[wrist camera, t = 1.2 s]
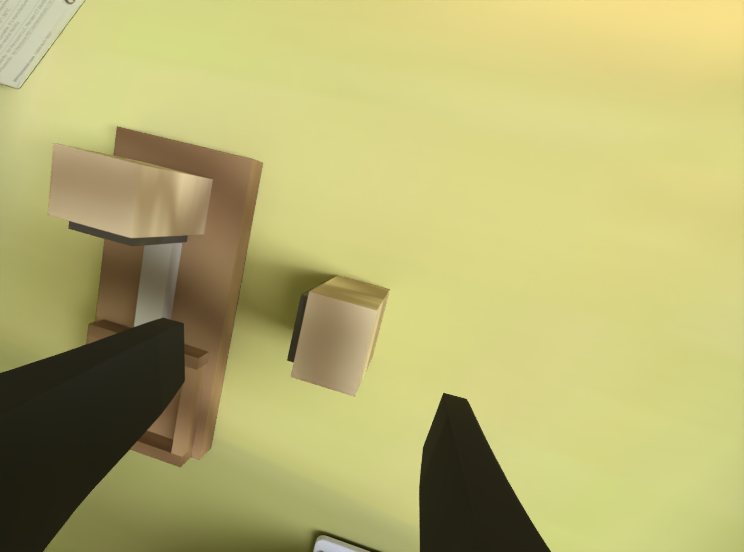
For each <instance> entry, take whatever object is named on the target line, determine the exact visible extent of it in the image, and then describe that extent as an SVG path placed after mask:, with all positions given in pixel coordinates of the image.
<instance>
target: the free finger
mask: <svg viewBox="0 0 744 552" xmlns="http://www.w3.org/2000/svg"><path fill="white" fill-rule="evenodd" d="M389 290H390V289H386V288H383V287H379V286H375V285H372V284H368V283H364V282H361V281H357V280H353V279H349V278H346V277H342V276H336V277H334V278H332V279H331V280H329V281H327V282H323V283H321V284H320V285H318V286H316V287H314V288H312V289H311V290H309V291H307V292H305V293H303V294H301V298H300V303H299V307H298V312H297V317H296V321H295V326H294V331H293V335H292V340H291V345H290V349H289V354H288V359H287V361H291V362H294V364H293V369H292V373H291V377H293V378H296V379H299V380H303V381H306V382H309V383H312V384H316V385H319V386H322V387H325V388H328V389H332V390H335V391H338V392H341V393H345V394H348V395H351V396H354V397H355V396H356V393H357V391H358V389H359V386H360V384H361V382H362V379H363V377H364V375H365V372H366V370H367V368H368V366H369V363H370V361H371V359H372V356H373V352H374V349H375V345H376V341H377V337H378V333H379V329H380V325H381V321H382V318H383V314H384V310H385V306H386V302H387V298H388V294H389Z"/></svg>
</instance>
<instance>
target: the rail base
mask: <svg viewBox="0 0 744 552" xmlns="http://www.w3.org/2000/svg"><path fill="white" fill-rule="evenodd" d="M262 165H263V163H262V162H259V161H256V160H253V159H250V158H246V157H241V156H237V155H233V154H229V153H225V152H221V151H217V150H212V149H208V148H204V147H200V146H196V145H192V144H187V143H183V142H179V141H175V140H171V139H167V138H163V137H158V136H154V135H150V134H146V133H142V132H138V131H133V130H129V129H125V128H121V127H117V130H116V139H115V148H114V156H113V155H108V154H103V153H98V152H94V151H89V150H84V149H80V148H75V147H70V146H65V145H61V144H56V143H54V146H53V158H52V171H51V183H50V195H49V207H48V215H50V216H53V217H57V218H61V219H64V220H68V221H69V229H72V230H76V231H79V232H83V233H86V234H90V235H93V236H97V237H100V238H104V248H103V257H102V266H101V275H100V284H99V293H98V302H97V311H96V321H95V322H93V323H90V324H89V325H88V335H87V344H89V343H92V342H95V341H97V340H100V339H103V338H106V337H108V336H111V335H114V334H117V333H119V332H122V331H125V330H127V329H130V328H133V327H136V326H139V325H141V324H144V323H147V322H150V321H153V320H156V319H160V318H167V319H170V320H174V321H178V322H182V323H184V353H185V382H184V383H183V385H182V386H181V388H180V389H179V391H178V392H177V394H176V395H175V396H174V398H173V399H172V401H171V402H170V403H169V405H168V406H167V407H166V409H165V410H164V411H163V413H162V414H161V415H160V416H159V418H158V419H157V420H156V421H155V422H154V423H153V424H152V425H151V426H150V428H149V429H148V430H147V431H146V432H145V433H144V434H143V435H142V436H141V438H140V439H139V440H138V441H137V442H136V443H135V444H134V445H133V446H132V447H131V448H130V450H133V451H136V452H139V453H141V454H144V455H147V456H150V457H153V458H156V459H158V460H161V461H164V462H167V463H170V464H173V465H175V466H178V467H181V466H182V465H183V464H184V463H185V462H186V461H187V460H188V459H189V458H190V457H192V458H195V459H198V460H200V459H201V458H202V457H203V456H204V455H205V454H206V453H207V452H208V451H209V450H210V449H211V446H212V440H213V435H214V429H215V424H216V418H217V413H218V407H219V402H220V396H221V391H222V385H223V380H224V374H225V369H226V363H227V358H228V352H229V347H230V341H231V336H232V330H233V325H234V319H235V314H236V308H237V303H238V297H239V292H240V286H241V281H242V275H243V270H244V264H245V259H246V253H247V248H248V242H249V237H250V231H251V226H252V220H253V215H254V209H255V204H256V198H257V193H258V187H259V182H260V176H261V171H262Z"/></svg>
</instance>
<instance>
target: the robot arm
mask: <svg viewBox="0 0 744 552" xmlns="http://www.w3.org/2000/svg"><path fill="white" fill-rule="evenodd" d="M184 382H185V353H184V323H182V322H178V321H174V320H170V319H167V318H160V319H156V320H153V321H150V322H147V323H144V324H141V325H139V326H136V327H133V328H130V329H127V330H125V331H122V332H119V333H117V334H114V335H111V336H108V337H106V338H103V339H100V340H97V341H95V342H92V343H89V344H86V345H83V346H81V347H78V348H75V349H72V350H70V351H67V352H64V353H61V354H58V355H55V356H52V357H49V358H46V359H43V360H39V361H36V362H33V363H30V364H27V365H24V366H21V367H18V368H15V369H12V370H9V371H6V372H2V373H0V552H43V551H44V549H45V548H46V547H47V546H48V544H49V543H50V542H51V540H52V539H53V538H54V537H55V535H56V534H57V533H58V531H59V530H60V529H61V528H62V526H63V525H64V524H65V522H66V521H67V520H68V519H69V517H70V516H71V515H72V513H73V512H74V511H75V510H76V508H77V507H78V506H79V505H80V504H81V503H82V501H83V500H84V499H85V498H86V497H87V496H88V494H89V493H90V492H91V491H92V490H93V489H94V488H95V486H96V485H97V484H98V483H99V482H100V481H101V480H102V479H103V478H104V477H105V476H106V475H107V473H108V472H109V471H110V470H111V469H112V468H113V467H114V466H115V465H116V464H117V463H118V461H119V460H120V459H121V458H122V457H123V456H124V455H125V454H126V453H127V452H128V451H129V450H130V448H131V447H132V446H133V445H134V444H135V443H136V442H137V441H138V440H139V439H140V438H141V436H142V435H143V434H144V433H145V432H146V431H147V430H148V429H149V428H150V426H151V425H152V424H153V423H154V422H155V421H156V420H157V419H158V418H159V416H160V415H161V414H162V413H163V411H164V410H165V409H166V407H167V406H168V405H169V403H170V402H171V401H172V399H173V398H174V396H175V395H176V394H177V392H178V391H179V389H180V388H181V386H182V385H183V383H184ZM419 508H420V552H551V551H550V550H549V548H548V547H547V545H546V544H545V542H544V540H543V539H542V537H541V536H540V534H539V533H538V531H537V529H536V528H535V526H534V525H533V523H532V521H531V520H530V518H529V516H528V515H527V513H526V511H525V510H524V508H523V506H522V505H521V503H520V501H519V499H518V498H517V496H516V494H515V492H514V491H513V489H512V487H511V485H510V484H509V482H508V480H507V478H506V476H505V474H504V472H503V471H502V469H501V467H500V465H499V463H498V461H497V459H496V458H495V456H494V454H493V452H492V450H491V448H490V446H489V444H488V442H487V440H486V438H485V436H484V434H483V432H482V429H481V427H480V425H479V423H478V421H477V419H476V417H475V415H474V413H473V410H472V408H471V406H470V404H469V402H468V401H467V399H465V398H461V397H457V396H453V395H450V394H446V393H443V396H442V398H441V401H440V404H439V406H438V409H437V412H436V414H435V417H434V420H433V422H432V425H431V428H430V430H429V433H428V436H427V438H426V441H425V444H424V446H423V454H422V464H421V474H420V485H419ZM320 550H322V551H323V552H370V551H367V550H364V549H361V548H359V547H356V546H353V545H350V544H348V543H345V542H342V541H339V540H336V539H334V538H331V537H328V536H325V535H321V536H319V537H318V538H317V540H316V543H315V546H314V550H313V552H321V551H320Z"/></svg>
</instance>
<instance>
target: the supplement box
mask: <svg viewBox="0 0 744 552" xmlns="http://www.w3.org/2000/svg"><path fill="white" fill-rule="evenodd" d="M84 1H85V0H0V84H4V85H7V86H11V87H13V88H16V89H18V88H20V87H21V85H22V84H23V83H24V82H25V80H26V79H27V78H28V76H29V75H30V74H31V72H32V71H33V70H34V68H35V67H36V65H37V64H38V63H39V61H40V60H41V59H42V57H43V56H44V55H45V53H46V52H47V51H48V49H49V48H50V47H51V45H52V44H53V43H54V41H55V40H56V38H57V37H58V36H59V34H60V33H61V32H62V30H63V29H64V28H65V26H66V25H67V24H68V22H69V21H70V20H71V18H72V17H73V16H74V14H75V13H76V11H77V10H78V9H79V7H80V6H81V5H82V3H83V2H84Z"/></svg>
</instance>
